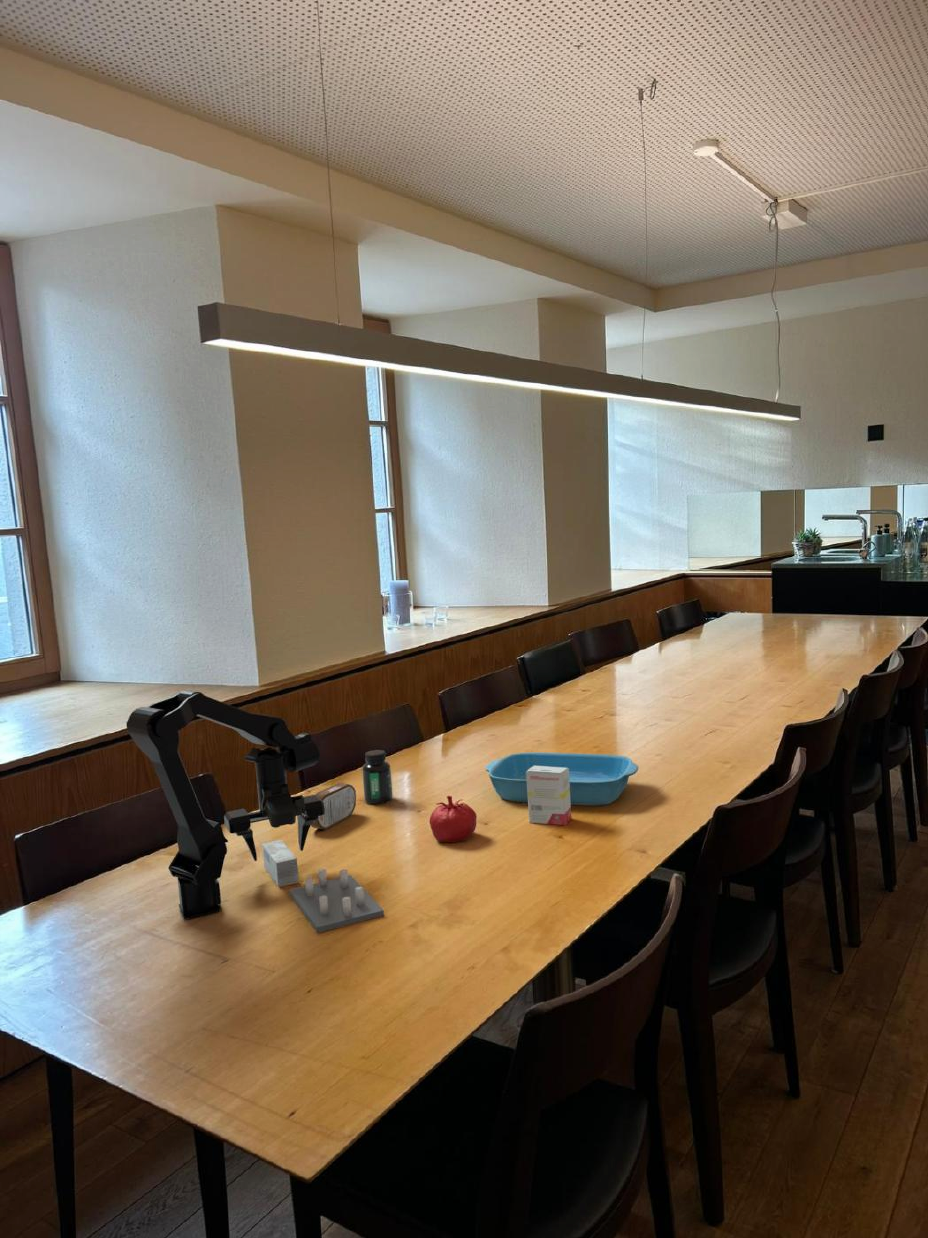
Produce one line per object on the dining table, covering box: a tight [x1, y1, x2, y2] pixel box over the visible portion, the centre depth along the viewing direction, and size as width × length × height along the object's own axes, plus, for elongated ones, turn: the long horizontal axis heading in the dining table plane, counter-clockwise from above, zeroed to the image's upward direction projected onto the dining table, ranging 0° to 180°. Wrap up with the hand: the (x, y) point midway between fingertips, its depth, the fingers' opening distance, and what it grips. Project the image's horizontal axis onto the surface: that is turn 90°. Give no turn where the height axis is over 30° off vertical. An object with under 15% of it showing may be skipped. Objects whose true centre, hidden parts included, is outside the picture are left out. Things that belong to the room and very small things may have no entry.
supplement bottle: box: [361, 749, 394, 806], centre depth 222 cm, size 7×7×12 cm
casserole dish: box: [484, 751, 639, 806], centre depth 219 cm, size 37×22×7 cm, turn 70°
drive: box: [261, 838, 300, 888], centre depth 181 cm, size 4×12×5 cm, turn 25°
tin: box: [310, 782, 357, 830], centre depth 208 cm, size 15×3×8 cm, turn 150°
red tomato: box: [429, 795, 478, 843], centre depth 194 cm, size 10×10×9 cm
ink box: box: [526, 766, 572, 826], centre depth 201 cm, size 9×5×12 cm, turn 67°
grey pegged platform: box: [289, 868, 385, 934], centre depth 165 cm, size 12×18×4 cm, turn 25°
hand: (278, 855), depth 181 cm, fingers open, 9 cm apart
